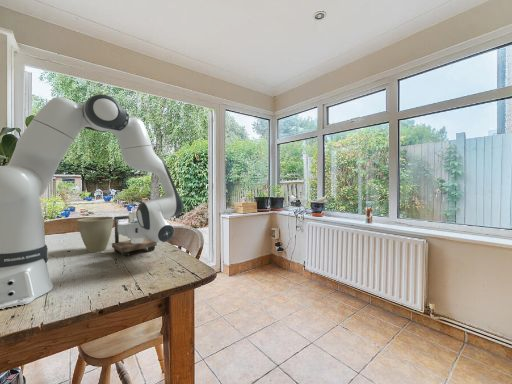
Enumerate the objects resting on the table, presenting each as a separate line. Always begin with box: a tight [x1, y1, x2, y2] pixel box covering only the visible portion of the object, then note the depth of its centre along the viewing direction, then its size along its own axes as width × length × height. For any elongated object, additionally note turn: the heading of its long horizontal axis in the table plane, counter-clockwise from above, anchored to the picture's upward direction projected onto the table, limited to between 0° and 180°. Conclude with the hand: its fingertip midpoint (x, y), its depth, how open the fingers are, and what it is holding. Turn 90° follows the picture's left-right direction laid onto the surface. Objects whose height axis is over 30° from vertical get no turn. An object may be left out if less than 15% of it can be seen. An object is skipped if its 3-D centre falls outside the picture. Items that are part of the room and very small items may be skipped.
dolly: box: [111, 215, 158, 258], centre depth 113 cm, size 16×13×17 cm
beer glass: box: [127, 211, 144, 244], centre depth 112 cm, size 7×7×15 cm
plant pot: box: [76, 216, 115, 253], centre depth 115 cm, size 15×15×16 cm
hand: (136, 224), depth 111 cm, fingers open, 8 cm apart
